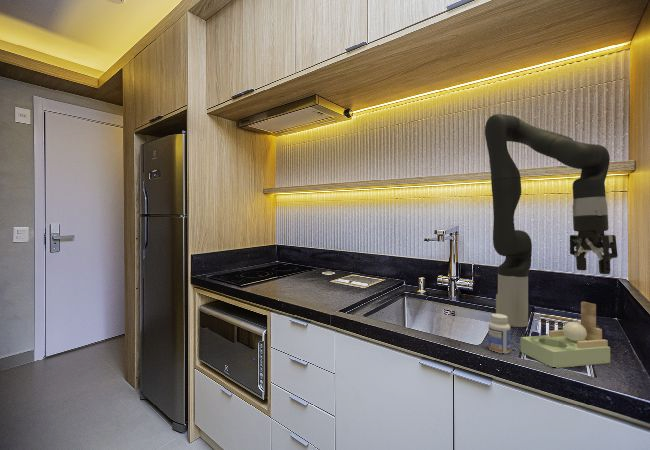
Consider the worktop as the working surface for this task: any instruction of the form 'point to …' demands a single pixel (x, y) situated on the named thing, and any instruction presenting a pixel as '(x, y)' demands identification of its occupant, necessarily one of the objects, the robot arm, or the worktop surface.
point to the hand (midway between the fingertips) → (592, 272)
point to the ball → (574, 331)
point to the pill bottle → (499, 334)
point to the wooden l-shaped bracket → (590, 321)
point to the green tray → (565, 350)
